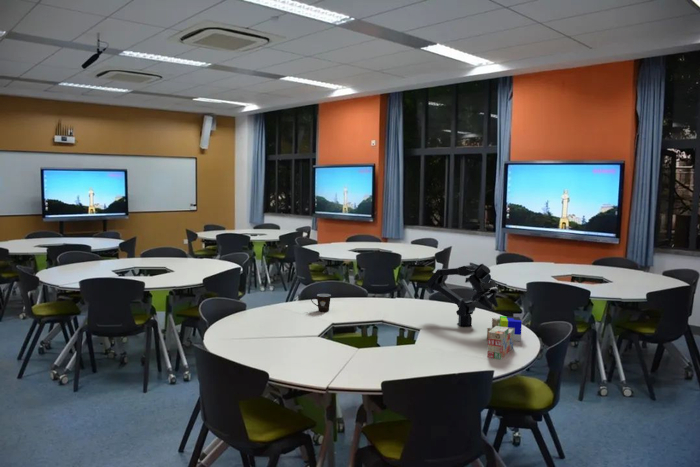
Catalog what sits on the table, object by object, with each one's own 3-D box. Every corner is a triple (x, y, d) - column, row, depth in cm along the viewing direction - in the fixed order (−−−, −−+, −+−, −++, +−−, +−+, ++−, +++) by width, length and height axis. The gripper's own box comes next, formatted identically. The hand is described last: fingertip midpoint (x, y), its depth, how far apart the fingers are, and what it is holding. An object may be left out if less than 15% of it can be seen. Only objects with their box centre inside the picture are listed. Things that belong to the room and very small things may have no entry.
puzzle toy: (520, 341, 269) (521, 321, 268) (500, 339, 271) (501, 320, 270) (518, 335, 278) (519, 317, 278) (499, 334, 280) (499, 316, 280)
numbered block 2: (491, 342, 265) (492, 330, 265) (486, 339, 271) (487, 327, 270) (500, 342, 266) (501, 330, 266) (495, 339, 271) (496, 327, 271)
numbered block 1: (496, 331, 286) (496, 320, 286) (491, 328, 291) (492, 317, 291) (504, 330, 287) (505, 319, 287) (500, 328, 292) (500, 317, 292)
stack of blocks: (500, 345, 260) (501, 321, 259) (513, 348, 257) (514, 323, 256) (487, 357, 242) (488, 331, 241) (500, 360, 239) (501, 333, 238)
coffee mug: (333, 310, 328) (333, 294, 328) (325, 313, 321) (325, 297, 320) (318, 308, 335) (318, 292, 334) (310, 310, 327) (310, 294, 327)
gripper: (477, 277, 279) (494, 301, 272) (496, 273, 291) (513, 296, 284) (464, 289, 285) (481, 313, 278) (483, 285, 298) (499, 308, 291)
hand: (494, 307), depth 283 cm, fingers open, 6 cm apart
